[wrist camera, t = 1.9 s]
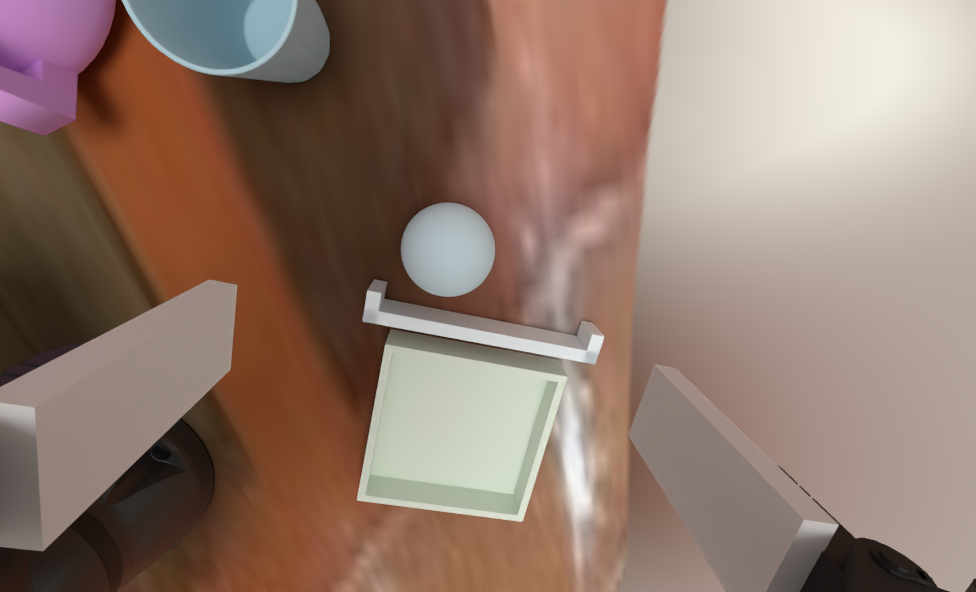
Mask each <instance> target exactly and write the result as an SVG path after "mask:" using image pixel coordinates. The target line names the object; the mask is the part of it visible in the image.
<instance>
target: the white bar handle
mask: <svg viewBox="0 0 976 592" xmlns="http://www.w3.org/2000/svg"><path fill="white" fill-rule="evenodd" d="M386 285H387V282H385V281H380V280H375V279H374V280H373V282H372V284H371V285H370V287H369V288H368V290H367V296H366V302H365V308H364V314H363V320H362V322H368V323H373V324H379V325H384V326H389V327H395V328H400V329H406V330H411V331H417V332H422V333H427V334H433V335H438V336H444V337H449V338H454V339H460V340H465V341H471V342H476V343H482V344H487V345H492V346H498V347H503V348H509V349H514V350H519V351H525V352H530V353H536V354H541V355H547V356H552V357H557V358H563V359H568V360H574V361H579V362H584V363H590V364H596V361H597V358H598V354H599V351H600V348H601V345H602V342H603V339H604V335H603V334H602V333H601V332H600V331H599V330H598V328H597V327H596V326H595V325H594V324H593V323H592V322H587V321H582V320H581V323H580V326H579V329H578V333H577V336H575V335H570V334H565V333H559V332H554V331H549V330H544V329H539V328H534V327H528V326H523V325H518V324H513V323H508V322H502V321H497V320H492V319H487V318H482V317H477V316H471V315H466V314H461V313H456V312H451V311H445V310H440V309H435V308H430V307H425V306H420V305H414V304H409V303H404V302H399V301H394V300H388V299H384V297H385V291H386Z"/></svg>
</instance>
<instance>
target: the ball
mask: <svg viewBox="0 0 976 592" xmlns="http://www.w3.org/2000/svg"><path fill="white" fill-rule="evenodd" d="M401 257H402V262H403V265H404V267H405V270H406V272H407V273H408V275H409V277H410V278H411V279H412V280H413V282H414V283H415V284H417V285H418V286H419V287H420V288H422V289H423V290H425V291H427V292H429V293H431V294H434V295H437V296H443V297H454V296H459V295H463V294H466V293H468V292H470V291H472V290H474V289H475V288H476V287H478V286H479V285H480V284H481V283H482V282H483V281H484V280H485V279H486V277H487V276H488V274H489V272H490V270H491V268H492V266H493V262H494V258H495V243H494V238H493V235H492V232H491V230H490V228H489V226H488V224H487V223H486V221H485V220H484V219H483V218H482V217H481V216H480V215H479V214H478V213H477V212H475V211H474V210H472V209H471V208H469V207H467V206H464V205H461V204H458V203H448V202H445V203H438V204H434V205H431V206H429V207H427V208H425V209H423V210H421V211H420V212H419V213H417V214H416V215H415V216H414V217H413V218H412V219H411V221H410V222H409V223H408V225H407V227H406V229H405V231H404V234H403V237H402V242H401Z"/></svg>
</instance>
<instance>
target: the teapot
mask: <svg viewBox="0 0 976 592" xmlns="http://www.w3.org/2000/svg"><path fill="white" fill-rule="evenodd" d="M115 5H116V0H0V121H1V122H4V123H7V124H10V125H13V126H16V127H19V128H22V129H25V130H28V131H31V132H34V133H37V134H40V135H43V136H45V135H47V134H49V133H51V132H53V131H55V130H57V129H59V128H61V127H63V126H65V125H67V124H69V123H71V122H73V121H75V120H76V106H77V85H78V74H79V73H80V72H82V71H83V70H84V69H85V68H86V67H87V66H88V65H89V64H90V63H91V62H92V61H93V60H94V58H95V57H96V55H97V54H98V52H99V51H100V49H101V48H102V46H103V45H104V42H105V40H106V38H107V36H108V34H109V31H110V28H111V25H112V21H113V18H114V13H115Z"/></svg>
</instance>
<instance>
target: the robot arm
mask: <svg viewBox="0 0 976 592" xmlns="http://www.w3.org/2000/svg"><path fill="white" fill-rule="evenodd" d="M236 295H237V285H235V284H230V283H225V282H220V281H214V280H207V281H206V282H204V283H202V284H200V285H198V286H196V287H194V288H192V289H190V290H188V291H186V292H184V293H182V294H180V295H178V296H176V297H174V298H172V299H171V300H169V301H167V302H165V303H163V304H161V305H159V306H157V307H155V308H153V309H151V310H149V311H147V312H145V313H143V314H141V315H139V316H137V317H136V318H134V319H132V320H130V321H128V322H126V323H124V324H122V325H120V326H118V327H116V328H114V329H112V330H110V331H108V332H106V333H104V334H102V335H101V336H99V337H97V338H95V339H93V340H91V341H89V342H87V343H85V344H82V343H74V344H71V345H67V346H63V347H59V348H55V349H52V350H48V351H45V352H43V353H41V354H39V355H37V356H35V357H33V358H31V359H29V360H27V361H24V362H22V365H16V366H14V367H12V368H10V369H8V370H6V371H4V372H2V374H1V375H0V592H117V591H118V590H119V589H120V588H121V587H122V586H124V585H125V584H126V583H127V582H129V581H130V580H131V579H133V578H134V577H135V576H137V575H138V574H139V573H140V572H142V571H143V570H144V569H146V568H147V567H148V566H149V565H151V564H152V563H153V562H154V561H156V560H157V559H158V558H159V557H161V556H162V555H163V554H164V553H166V552H167V551H168V550H170V549H172V548H173V547H174V546H176V545H177V544H178V543H179V542H180V541H182V540H183V539H184V538H185V536H186V535H187V534H188V533H189V532H190V531H191V529H192V528H193V527H194V525H195V524H196V522H197V521H198V519H199V518H200V517H201V515H202V514H203V512H204V511H205V509H206V507H207V506H208V504H209V501H210V499H211V496H212V492H213V485H214V477H213V469H212V465H211V461H210V458H209V456H208V454H207V451H206V450H205V448H204V446H203V444H202V443H201V441H200V440H199V439H198V437H197V436H196V435H195V434H194V433H193V431H192V430H191V429H190V428H189V427H188V426H187V425H186V424H184V423H183V422H182V421H181V420H180V418H181V417H182V416H183V415H184V414H185V413H186V412H187V411H188V410H189V409H190V408H191V407H193V406H194V405H195V404H196V403H197V402H198V401H199V400H200V399H201V398H202V397H203V396H204V395H205V394H206V393H207V392H208V391H209V390H210V389H211V388H212V387H213V386H214V385H215V384H216V383H217V382H218V381H219V380H220V379H221V378H222V377H223V376H224V375H226V374H227V373H228V372H229V371H230V370H231V359H232V346H233V333H234V321H235V308H236ZM628 436H629V437H630V439H631V440H632V442H633V444H634V445H635V447H636V448H637V450H638V452H639V453H640V455H641V456H642V458H643V459H644V461H645V463H646V464H647V466H648V468H649V469H650V471H651V472H652V474H653V476H654V477H655V479H656V480H657V482H658V484H659V485H660V487H661V488H662V490H663V491H664V493H665V495H666V496H667V498H668V499H669V501H670V503H671V504H672V506H673V508H674V509H675V511H676V512H677V514H678V515H679V517H680V519H681V520H682V522H683V523H684V525H685V527H686V528H687V530H688V532H689V533H690V535H691V536H692V538H693V539H694V541H695V543H696V544H697V546H698V547H699V549H700V551H701V552H702V554H703V555H704V557H705V559H706V560H707V562H708V563H709V565H710V567H711V568H712V570H713V571H714V573H715V575H716V576H717V578H718V579H719V581H720V583H721V584H722V586H723V587H724V589H725V591H726V592H949V591H946V590H943V589H940V588H938V587H937V586H936V584H935V583H934V581H933V580H932V578H931V577H930V576H929V575H928V574H927V573H926V572H925V571H924V570H922V569H921V568H920V567H919V566H918V565H917V564H915V563H914V562H913V561H911V560H910V559H908V558H907V557H906V556H904V555H903V554H901V553H899V552H897V551H896V550H894V549H892V548H890V547H889V546H887V545H884V544H882V543H879V542H877V541H875V540H871V539H866V538H857V539H856V538H854V537H853V536H852V535H851V534H850V533H849V532H848V531H847V530H846V529H845V528H844V527H843V526H842V525H841V524H840V523H839V522H838V521H837V520H836V519H835V518H834V517H832V516H831V515H830V514H829V513H828V512H827V511H826V510H825V509H824V508H823V507H822V506H821V505H820V504H819V503H818V502H817V501H815V499H812V498H811V497H810V495H809V494H808V493H807V492H806V491H805V490H804V489H803V488H802V487H801V486H798V485H797V484H798V483H797V482H796V481H795V480H794V479H793V478H792V477H790V476H789V475H788V474H787V473H786V472H785V471H784V470H783V469H782V468H780V467H779V466H777V465H776V464H775V463H774V462H773V461H772V460H771V459H770V458H769V457H768V456H767V455H766V454H764V452H762V451H761V450H760V449H759V448H758V447H757V446H756V445H755V444H754V443H753V442H752V441H751V440H750V439H749V438H748V437H747V436H746V435H745V434H744V433H742V432H741V431H740V429H738V428H737V427H736V426H735V425H734V424H733V423H732V422H731V421H730V420H729V419H728V418H727V417H726V416H725V415H724V414H723V413H722V412H721V411H720V410H719V409H718V408H717V407H715V406H714V405H713V404H712V403H711V402H710V401H709V400H708V399H707V398H706V397H705V396H704V395H703V394H702V393H701V392H700V391H699V390H698V389H697V388H696V387H695V386H694V385H693V384H692V383H690V382H689V381H688V380H687V379H686V378H685V377H684V376H683V375H682V374H681V373H680V372H679V371H678V370H677V369H676V368H671V367H666V366H660V365H656V364H655V365H654V367H653V370H652V372H651V375H650V378H649V381H648V383H647V386H646V389H645V391H644V394H643V397H642V399H641V402H640V405H639V408H638V411H637V413H636V416H635V419H634V421H633V424H632V426H631V429H630V432H629V435H628ZM966 592H976V579H974V580H973V581H972V583H971V584H970V586H969V587H968V589H967V590H966Z"/></svg>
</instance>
